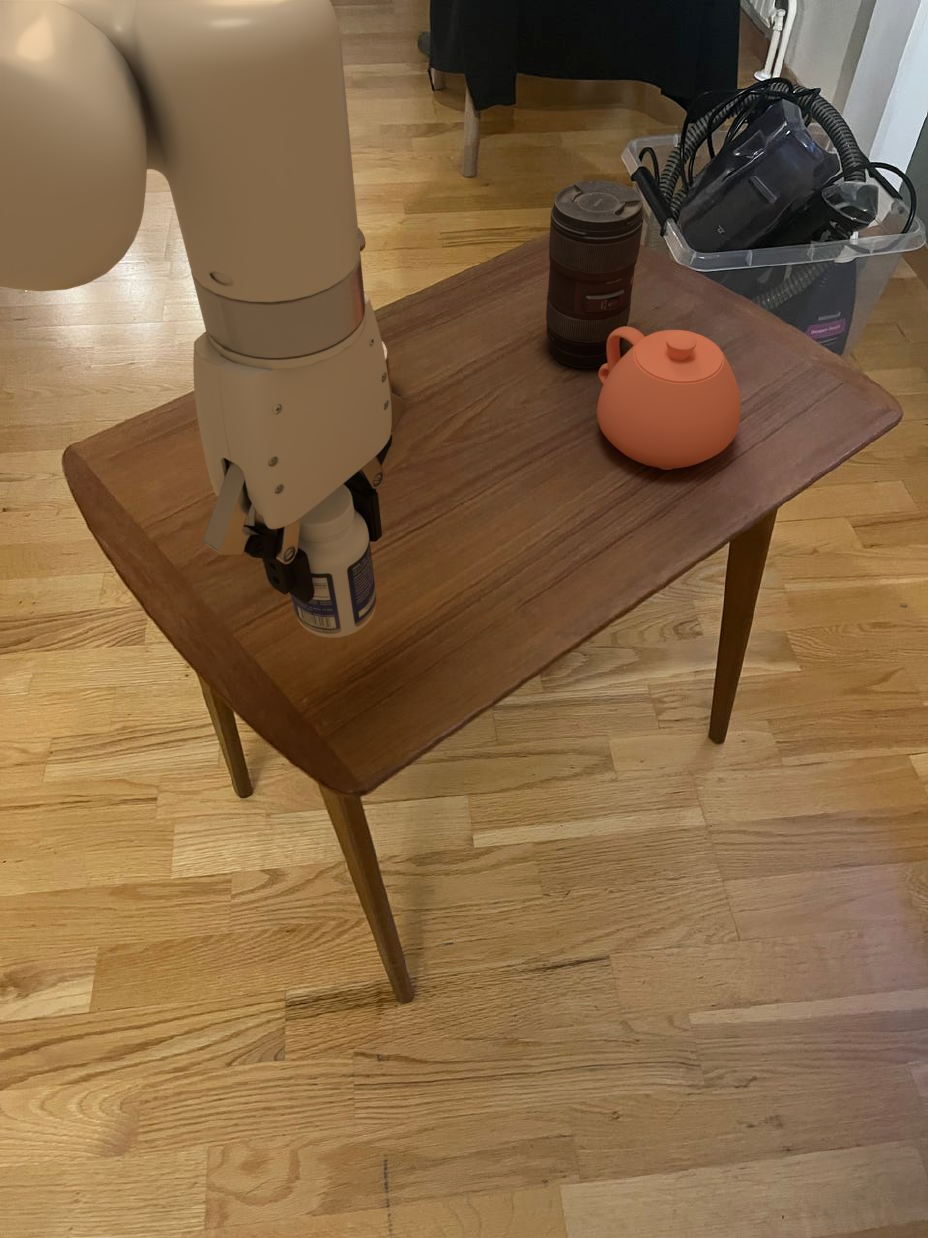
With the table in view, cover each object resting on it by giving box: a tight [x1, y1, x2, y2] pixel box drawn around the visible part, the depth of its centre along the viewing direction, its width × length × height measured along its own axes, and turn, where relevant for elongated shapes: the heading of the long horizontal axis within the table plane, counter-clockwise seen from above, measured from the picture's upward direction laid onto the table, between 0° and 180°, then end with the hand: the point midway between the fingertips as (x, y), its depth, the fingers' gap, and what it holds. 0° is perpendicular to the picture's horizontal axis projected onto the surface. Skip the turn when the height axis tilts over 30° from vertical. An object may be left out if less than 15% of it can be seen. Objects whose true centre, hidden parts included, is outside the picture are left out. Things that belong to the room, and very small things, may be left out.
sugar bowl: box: [596, 325, 742, 471], centre depth 78 cm, size 12×14×10 cm
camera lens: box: [545, 180, 645, 369], centre depth 84 cm, size 8×8×15 cm
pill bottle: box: [290, 484, 377, 639], centre depth 56 cm, size 5×5×10 cm
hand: (326, 557), depth 56 cm, fingers closed on pill bottle, 5 cm apart
